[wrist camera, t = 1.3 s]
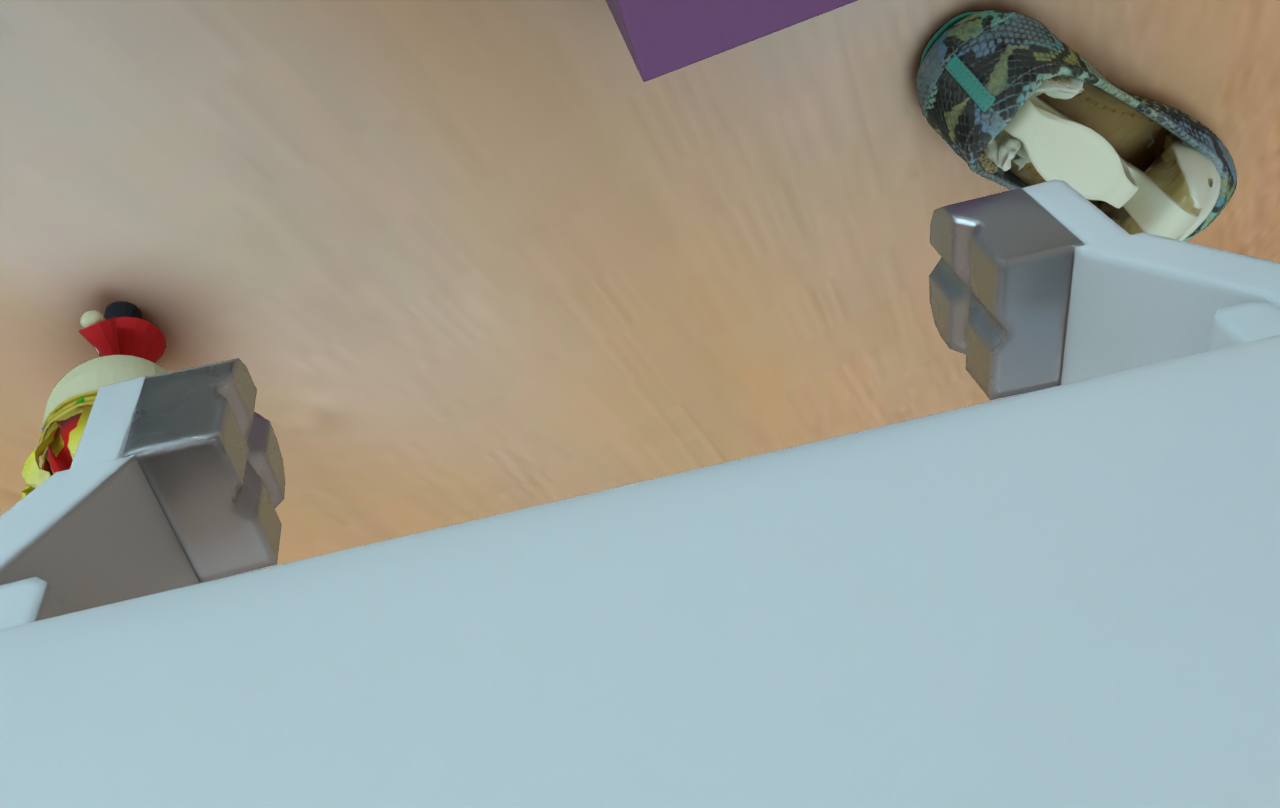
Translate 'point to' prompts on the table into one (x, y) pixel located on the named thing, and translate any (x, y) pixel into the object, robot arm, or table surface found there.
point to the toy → (93, 384)
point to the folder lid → (705, 27)
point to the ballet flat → (1069, 126)
